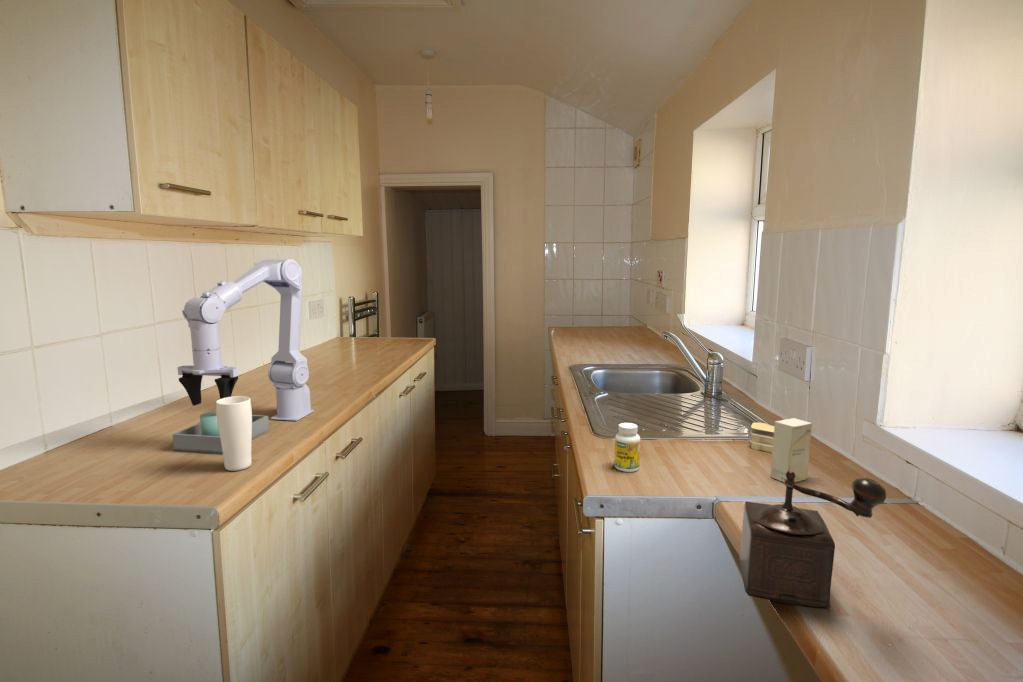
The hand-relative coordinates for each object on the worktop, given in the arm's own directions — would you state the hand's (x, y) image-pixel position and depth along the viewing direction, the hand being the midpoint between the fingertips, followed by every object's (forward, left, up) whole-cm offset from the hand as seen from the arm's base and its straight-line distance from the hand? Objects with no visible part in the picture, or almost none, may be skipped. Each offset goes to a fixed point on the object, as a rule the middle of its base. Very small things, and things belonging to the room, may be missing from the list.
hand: (211, 405), depth 131 cm
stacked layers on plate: (-21, +131, -10) cm, 133 cm away
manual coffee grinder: (+37, +120, -10) cm, 126 cm away
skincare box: (-3, +131, -10) cm, 131 cm away
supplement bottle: (-3, +98, -10) cm, 98 cm away
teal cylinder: (0, 0, -9) cm, 9 cm away
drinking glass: (+11, +15, -10) cm, 21 cm away
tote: (-4, 0, -10) cm, 11 cm away
